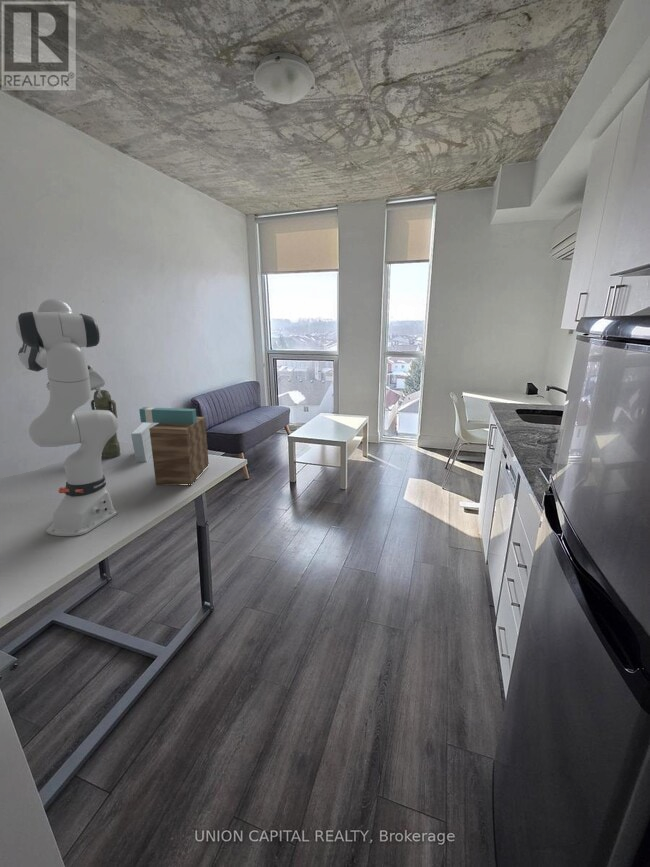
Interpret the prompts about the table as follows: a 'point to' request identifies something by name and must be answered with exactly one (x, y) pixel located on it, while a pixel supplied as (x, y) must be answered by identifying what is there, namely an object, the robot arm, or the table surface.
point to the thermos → (106, 403)
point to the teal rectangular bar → (168, 415)
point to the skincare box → (142, 442)
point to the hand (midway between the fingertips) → (90, 401)
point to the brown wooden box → (179, 451)
